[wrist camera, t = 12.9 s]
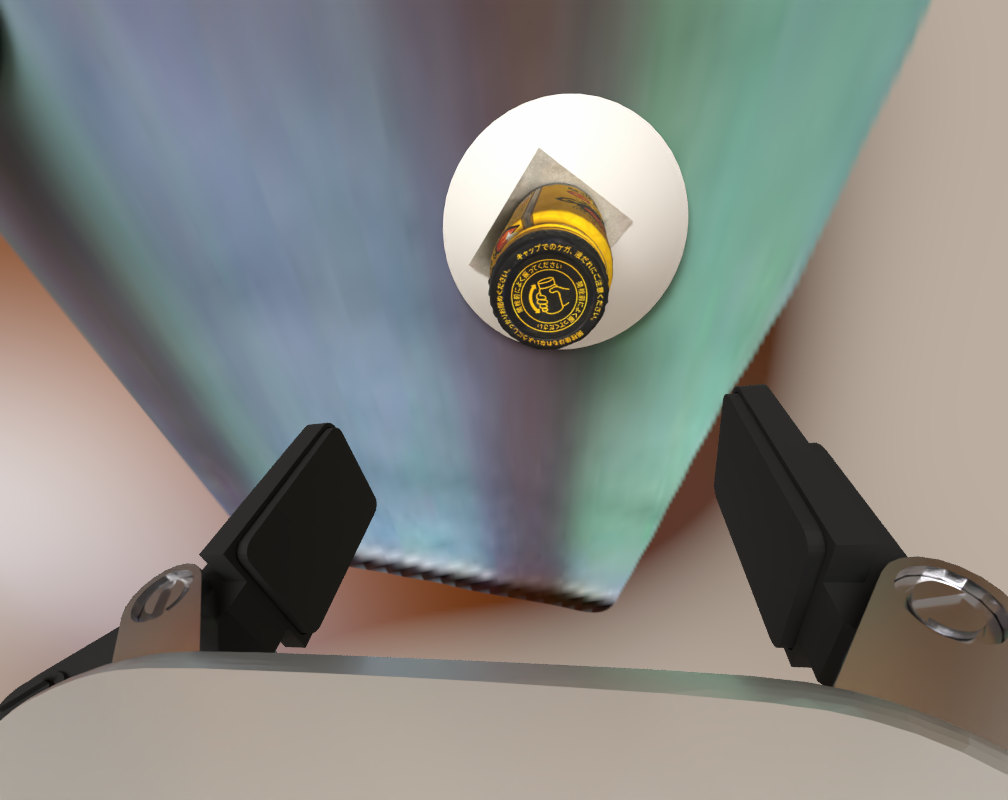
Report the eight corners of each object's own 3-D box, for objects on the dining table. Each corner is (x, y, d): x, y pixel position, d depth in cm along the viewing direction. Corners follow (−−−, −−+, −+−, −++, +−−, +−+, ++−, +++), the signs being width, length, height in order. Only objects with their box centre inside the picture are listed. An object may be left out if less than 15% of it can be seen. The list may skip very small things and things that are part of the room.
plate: (475, 353, 35) (473, 359, 34) (417, 128, 26) (412, 128, 25) (680, 330, 31) (683, 336, 30) (690, 61, 23) (694, 59, 22)
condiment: (632, 220, 27) (666, 281, 17) (552, 320, 31) (542, 415, 21) (539, 146, 25) (516, 167, 15) (469, 263, 30) (417, 337, 20)
